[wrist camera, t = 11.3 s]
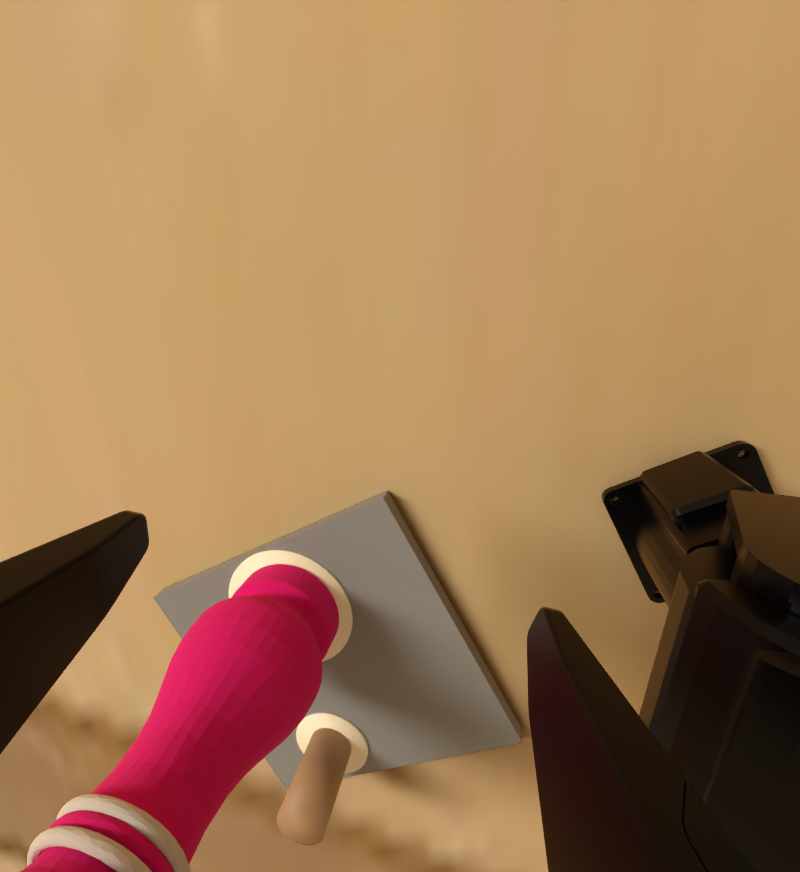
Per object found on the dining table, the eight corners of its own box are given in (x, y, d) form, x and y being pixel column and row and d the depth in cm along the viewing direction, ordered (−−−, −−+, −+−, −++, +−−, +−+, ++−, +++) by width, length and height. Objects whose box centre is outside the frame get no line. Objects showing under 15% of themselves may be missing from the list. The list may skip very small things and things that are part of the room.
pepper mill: (371, 636, 25) (-3, 1612, 6) (280, 671, 27) (-186, 1456, 9) (302, 536, 24) (-380, 1338, 5) (214, 581, 26) (-471, 1247, 8)
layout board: (521, 727, 26) (528, 842, 20) (292, 774, 32) (248, 874, 26) (387, 490, 23) (353, 548, 18) (164, 588, 29) (85, 655, 24)
